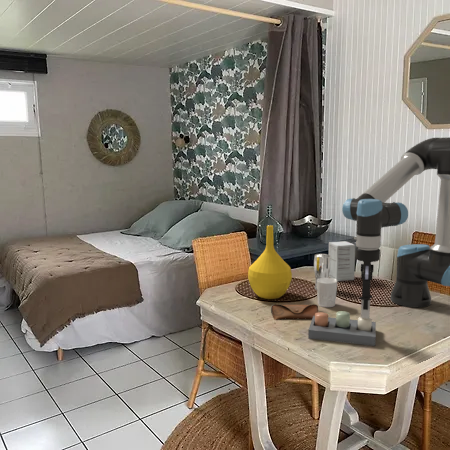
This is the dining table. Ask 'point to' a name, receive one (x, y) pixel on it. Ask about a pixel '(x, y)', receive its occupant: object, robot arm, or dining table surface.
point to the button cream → (364, 324)
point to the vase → (269, 272)
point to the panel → (342, 332)
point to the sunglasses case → (293, 312)
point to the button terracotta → (321, 319)
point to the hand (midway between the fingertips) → (365, 317)
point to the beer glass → (321, 266)
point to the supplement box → (342, 260)
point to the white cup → (326, 291)
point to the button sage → (343, 319)
